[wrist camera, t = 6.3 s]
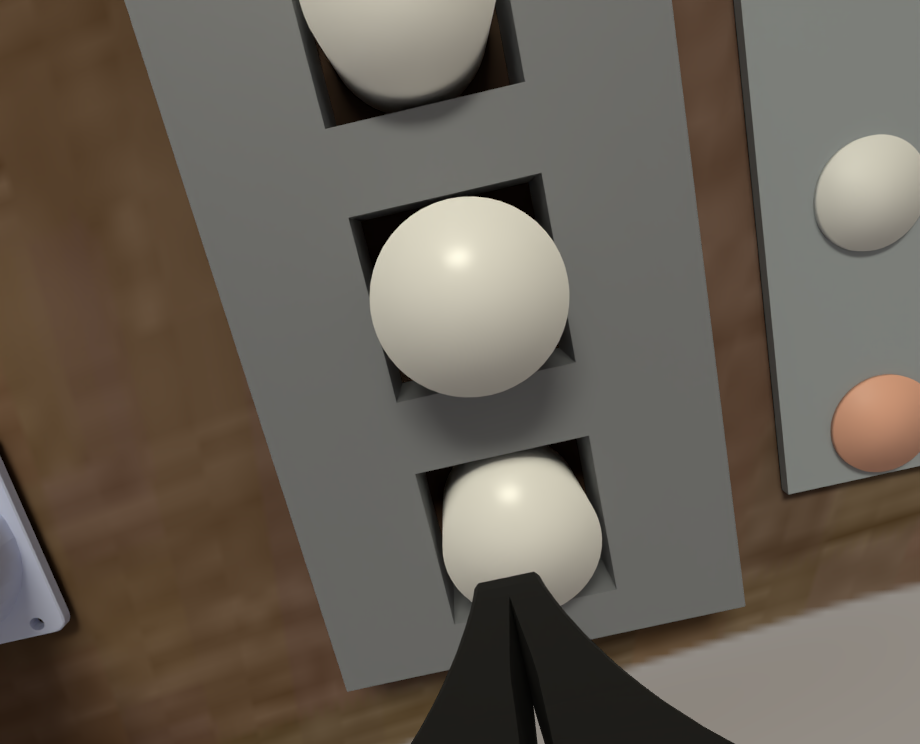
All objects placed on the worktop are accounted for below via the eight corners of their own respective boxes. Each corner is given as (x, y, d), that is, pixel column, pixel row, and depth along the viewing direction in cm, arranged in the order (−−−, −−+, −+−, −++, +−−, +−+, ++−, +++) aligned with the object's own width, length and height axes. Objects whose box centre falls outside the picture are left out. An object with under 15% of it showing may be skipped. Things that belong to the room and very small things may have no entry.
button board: (358, 641, 22) (347, 691, 19) (133, -85, 16) (78, -144, 14) (711, 565, 21) (745, 606, 19) (607, -201, 16) (637, -283, 13)
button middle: (405, 385, 18) (397, 416, 14) (364, 226, 16) (346, 222, 13) (559, 351, 18) (585, 373, 14) (529, 188, 16) (549, 175, 13)
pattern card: (782, 489, 21) (791, 496, 20) (721, -125, 16) (731, -140, 16) (967, 449, 21) (983, 455, 20) (958, -183, 16) (977, -199, 16)
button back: (458, 573, 21) (462, 630, 18) (428, 452, 20) (426, 491, 17) (588, 545, 21) (613, 597, 18) (564, 422, 20) (587, 455, 17)
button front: (347, 132, 18) (327, 108, 14) (303, -45, 16) (269, -113, 13) (502, 96, 17) (515, 62, 14) (468, -86, 16) (474, -164, 13)
